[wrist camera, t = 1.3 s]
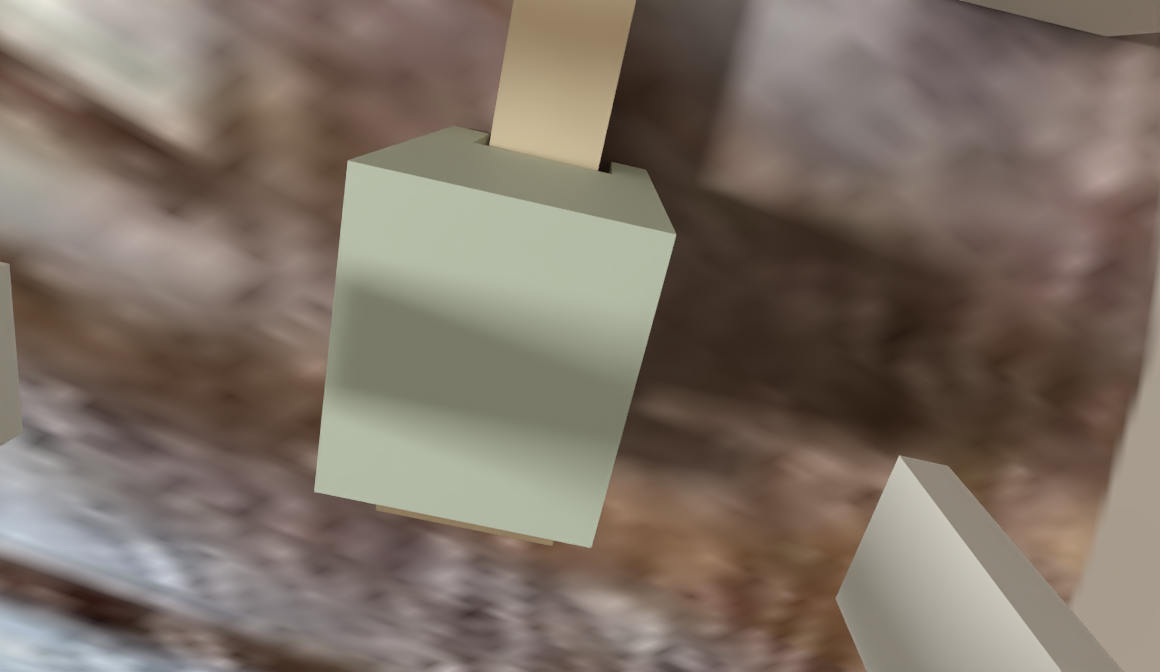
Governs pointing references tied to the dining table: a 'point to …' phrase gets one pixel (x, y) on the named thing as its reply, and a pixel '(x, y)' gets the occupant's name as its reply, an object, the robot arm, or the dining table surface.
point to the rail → (555, 101)
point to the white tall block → (1087, 14)
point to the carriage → (488, 332)
